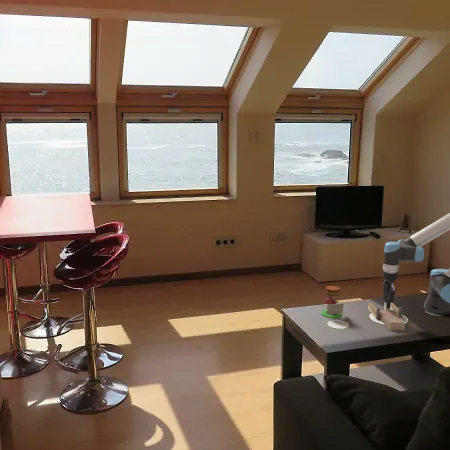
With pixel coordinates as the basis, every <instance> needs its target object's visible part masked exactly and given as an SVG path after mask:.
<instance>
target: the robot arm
mask: <svg viewBox="0 0 450 450" xmlns="http://www.w3.org/2000/svg"><path fill="white" fill-rule="evenodd" d="M448 231H450V212H449V213H447V214H446V215H443V216H442V217H440V218H439V219H437V220H435V221H434V222H432V223H431V224H429V225H427V226H426V227H424V228H422V229H420V230H419V231H417V232H416V233H414V234H413V235H410V236H409V237H407V238H402V239H398V241H387V242H386V243H385V245H384V249H383V251H384V252H383V253H384V254H383V265H382V278H383V280H382V298H383V300H384V304H383V305H384V306H383V310H390V305H391V303H393V304H394V299H395V296H396V295H395V294H396V291H397V287H395V281H396V280H397V279H398V274H399V273H398V272H399V264H400V262H414V263H417V262H419V263H420V262H422V261H423V260H424V258H425V250H424V248H423V246H425V245H426V244H428V243H429V242H431V241H433V240H434V239H436V238H438V237H440V236H441V235H444V233H447V232H448ZM429 276H430V277H429V286H428V288H429V289H428V296H427V298H426V300H425V301H424V304H423V308H424V310H425V309H426V310H425V311H427V312H430V313H432V314H435V313H437V314H436V315H443V314H446V315H450V267H449V268H448V269H446V268H435V269H434V268H433V269H432V270H431V271H430V274H429Z"/></svg>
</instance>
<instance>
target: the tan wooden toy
mask: <svg viewBox="0 0 450 450" xmlns="http://www.w3.org/2000/svg"><path fill="white" fill-rule="evenodd" d="M390 310H395V311H396V313H397V314H398V315H399V317H400V318H401V319H402V314H403V307H401V306H399V307H397V306H396V305H395V304H394V302H393V303H391V305H390ZM367 311H368V312H369V313H370V312H371V313H370V314H371V315H372V316H373V317H374V318H375V320H380V318H379V313H380V311H381V309H380V307H375V306H374V305H373V304H372V303H371V302H368V303H367Z"/></svg>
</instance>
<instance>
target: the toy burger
mask: <svg viewBox="0 0 450 450" xmlns="http://www.w3.org/2000/svg"><path fill="white" fill-rule="evenodd" d="M340 292H341V288H340V287H339V286H336V285H327V286H326V287H325V295H326V296H327V297H325V299H324V300H323V302H324V303H325V304H326V305H327V306H326V309H323V310H322V311H321V315H322V316H324V317H326V318H331V319H332V318H333V319H335V318H341V316H342V313H344V304H345V303H344V302H345V301H344V302H342V303H339V304H337V302H336V300H335V299H334V298H333V297H338V296H340V294H341V293H340Z"/></svg>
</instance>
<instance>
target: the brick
mask: <svg viewBox="0 0 450 450" xmlns="http://www.w3.org/2000/svg"><path fill="white" fill-rule="evenodd" d="M379 320H380V321H381V322H382V323H383V324H384V325H385V326H386V327H387V329H388V330H390V331H405V330H406V322H405V321H404V319H403V318H402V317H401V318H400V317H399V315H398V314H397V313H396V311H395V310H384V309H383V310H380V313H379Z"/></svg>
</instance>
